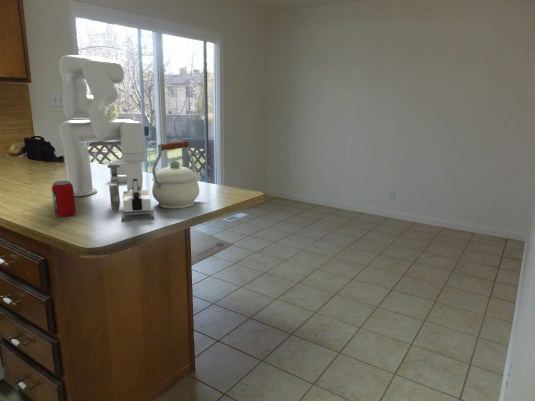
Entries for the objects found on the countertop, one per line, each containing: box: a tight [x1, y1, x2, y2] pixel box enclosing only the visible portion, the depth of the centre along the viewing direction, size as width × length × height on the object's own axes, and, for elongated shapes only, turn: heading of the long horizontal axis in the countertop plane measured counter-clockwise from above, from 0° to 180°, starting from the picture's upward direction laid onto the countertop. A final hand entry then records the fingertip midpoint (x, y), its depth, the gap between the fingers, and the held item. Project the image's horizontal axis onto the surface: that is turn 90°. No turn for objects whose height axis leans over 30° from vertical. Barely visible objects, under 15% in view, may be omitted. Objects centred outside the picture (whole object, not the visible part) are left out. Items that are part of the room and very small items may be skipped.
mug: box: [108, 159, 127, 183], centre depth 196 cm, size 14×11×10 cm
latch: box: [107, 164, 127, 181], centre depth 150 cm, size 7×3×6 cm, turn 108°
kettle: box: [151, 140, 201, 210], centre depth 153 cm, size 25×18×25 cm
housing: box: [108, 179, 149, 212], centre depth 149 cm, size 14×13×10 cm
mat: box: [120, 209, 155, 222], centre depth 138 cm, size 11×9×1 cm
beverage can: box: [51, 180, 77, 217], centre depth 138 cm, size 7×7×12 cm
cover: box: [122, 194, 152, 212], centre depth 137 cm, size 9×6×4 cm, turn 108°
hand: (137, 207), depth 137 cm, fingers closed on cover, 6 cm apart
